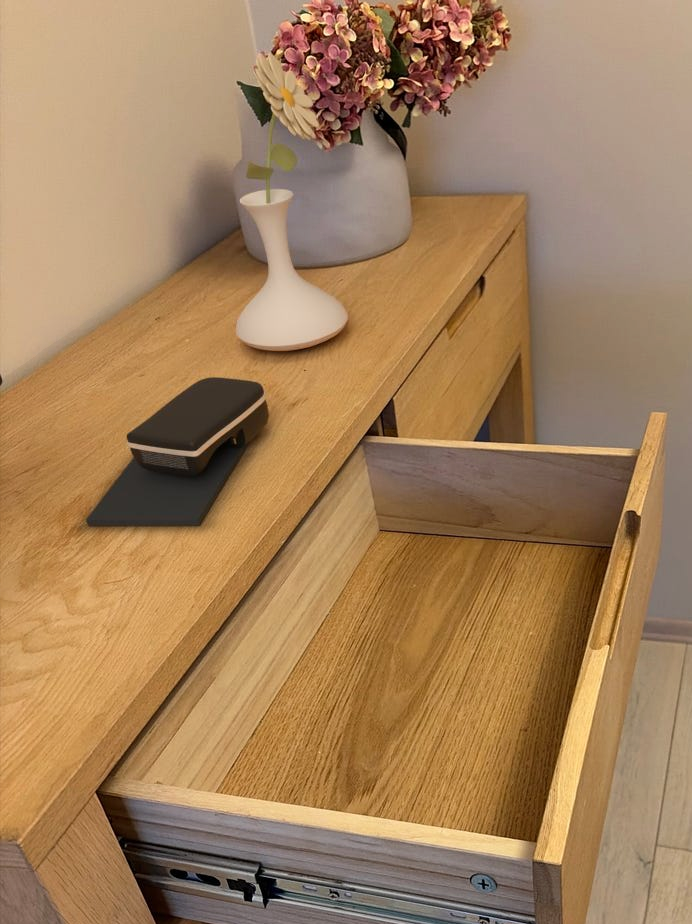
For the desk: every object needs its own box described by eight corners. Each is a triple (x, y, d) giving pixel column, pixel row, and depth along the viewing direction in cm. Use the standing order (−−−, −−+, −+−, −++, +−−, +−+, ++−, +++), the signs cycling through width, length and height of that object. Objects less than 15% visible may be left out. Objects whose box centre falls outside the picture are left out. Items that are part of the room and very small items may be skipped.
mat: (88, 526, 75) (85, 519, 75) (150, 443, 85) (148, 437, 85) (199, 526, 74) (197, 519, 74) (250, 441, 84) (248, 435, 83)
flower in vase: (302, 369, 94) (242, 75, 79) (216, 351, 100) (143, 71, 84) (382, 320, 103) (342, 44, 87) (298, 305, 108) (246, 42, 92)
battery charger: (206, 489, 77) (281, 422, 85) (193, 445, 74) (272, 381, 82) (134, 477, 79) (214, 413, 87) (119, 435, 77) (203, 373, 85)
